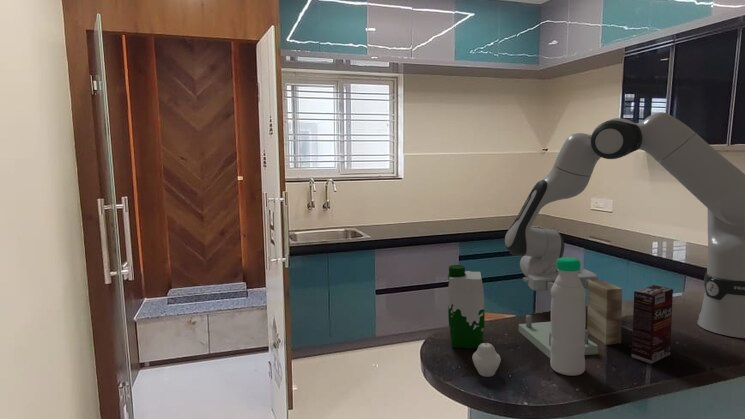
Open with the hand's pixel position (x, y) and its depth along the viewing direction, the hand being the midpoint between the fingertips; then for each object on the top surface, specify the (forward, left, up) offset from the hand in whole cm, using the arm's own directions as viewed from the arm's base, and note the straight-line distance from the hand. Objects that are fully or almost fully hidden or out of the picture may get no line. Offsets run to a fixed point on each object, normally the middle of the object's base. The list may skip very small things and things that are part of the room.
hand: (576, 288), depth 128 cm
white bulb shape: (+36, +25, -10) cm, 45 cm away
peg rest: (+13, +12, -10) cm, 20 cm away
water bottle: (+18, +27, -10) cm, 34 cm away
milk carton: (+35, +8, -10) cm, 37 cm away
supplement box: (-4, +24, -10) cm, 27 cm away
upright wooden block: (0, +12, -10) cm, 16 cm away
